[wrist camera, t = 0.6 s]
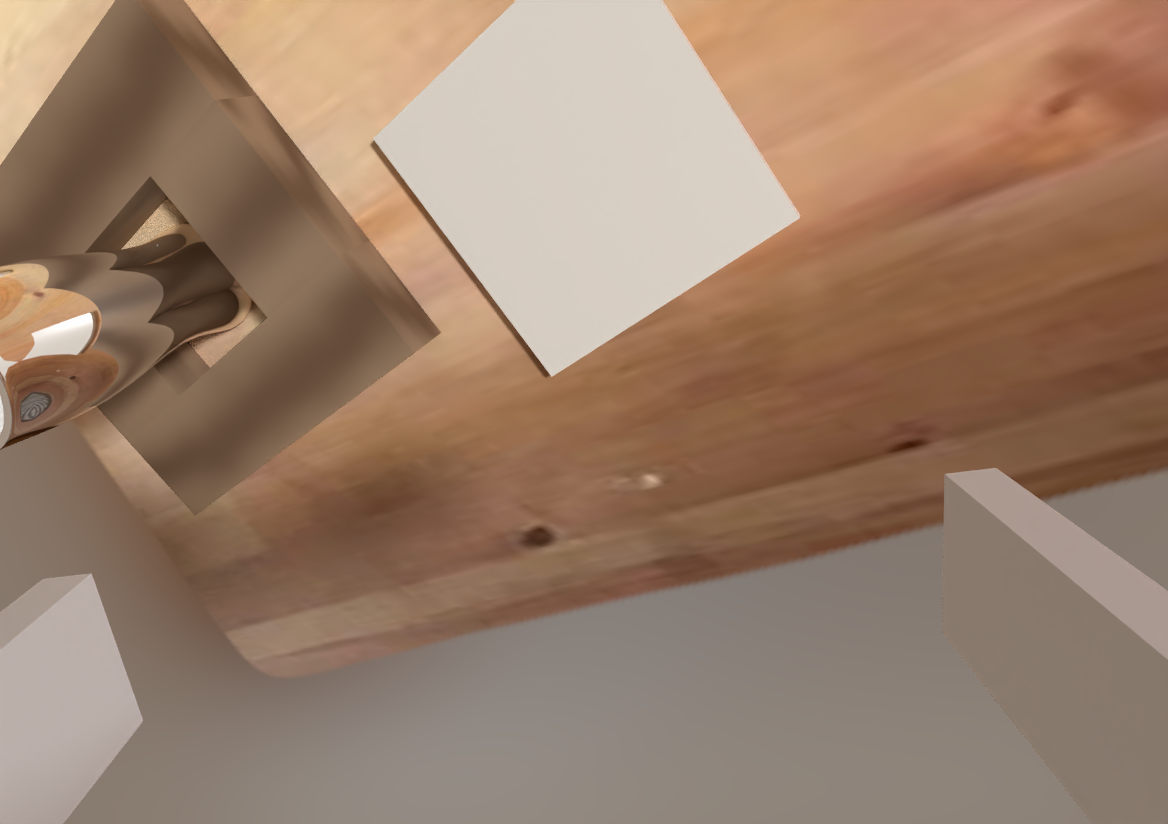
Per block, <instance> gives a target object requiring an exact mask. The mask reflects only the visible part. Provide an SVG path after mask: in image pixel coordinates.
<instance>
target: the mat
mask: <svg viewBox="0 0 1168 824" xmlns="http://www.w3.org/2000/svg"><path fill="white" fill-rule="evenodd" d="M373 139H374V141H375V142H376V143H377V145H378V146H379V147H380V149H381V150H382V151H383V153H384V154H385V155H386V157H387V158H388V159H389V161H390V162H391V163H392V165H393V166H394V167H395V169H396V170H397V171H398V173H399V174H400V175H401V177H402V178H403V179H404V181H405V182H406V183H407V185H408V186H409V187H410V189H411V190H412V191H413V193H414V194H415V195H416V197H417V198H418V199H419V201H420V202H421V203H422V205H423V206H424V207H425V209H426V210H427V211H428V213H429V214H430V215H431V217H432V218H433V219H434V221H435V222H436V223H437V225H438V226H439V227H440V229H441V230H442V231H443V233H444V234H445V235H446V237H447V238H448V239H449V241H450V242H451V243H452V245H453V246H454V247H455V249H456V250H457V251H458V253H459V254H460V255H461V257H462V258H463V259H464V261H465V262H466V263H467V265H468V266H469V267H470V269H471V270H472V271H473V273H474V274H475V275H476V277H477V278H478V279H479V281H480V282H481V283H482V285H483V286H484V287H485V289H486V290H487V291H488V293H489V294H490V295H491V297H492V298H493V299H494V301H495V302H496V303H497V305H498V306H499V307H500V309H501V310H502V311H503V313H504V314H505V315H506V317H507V318H508V319H509V321H510V322H511V323H512V325H513V326H514V327H515V329H516V330H517V331H518V333H519V334H520V335H521V337H522V338H523V339H524V341H525V342H526V343H527V345H528V346H529V347H530V349H531V350H532V351H533V353H534V354H535V355H536V357H537V358H538V359H539V361H540V362H541V363H542V365H543V366H544V367H545V369H546V370H547V371H548V373H549V374H550V375H551V377H552V376H554V375H555V374H557V373H558V372H560V371H562V370H563V369H565V368H566V367H568V366H569V365H571V364H573V363H574V362H576V361H577V360H579V359H580V358H582V357H583V356H585V355H587V354H588V353H590V352H591V351H593V350H594V349H596V348H598V347H599V346H601V345H602V344H604V343H605V342H607V341H608V340H610V339H612V338H613V337H615V336H616V335H618V334H619V333H621V332H623V331H624V330H626V329H627V328H629V327H630V326H632V325H633V324H635V323H637V322H638V321H640V320H641V319H643V318H644V317H646V316H648V315H649V314H651V313H652V312H654V311H655V310H657V309H658V308H660V307H662V306H663V305H665V304H666V303H668V302H669V301H671V300H673V299H674V298H676V297H677V296H679V295H680V294H682V293H683V292H685V291H687V290H688V289H690V288H691V287H693V286H694V285H696V284H698V283H699V282H701V281H702V280H704V279H705V278H707V277H708V276H710V275H712V274H713V273H715V272H716V271H718V270H719V269H721V268H722V267H724V266H726V265H727V264H729V263H730V262H732V261H733V260H735V259H737V258H738V257H740V256H741V255H743V254H744V253H746V252H747V251H749V250H751V249H752V248H754V247H755V246H757V245H758V244H760V243H762V242H763V241H765V240H766V239H768V238H769V237H771V236H772V235H774V234H776V233H777V232H779V231H780V230H782V229H783V228H785V227H787V226H788V225H790V224H791V223H793V222H794V221H796V220H797V219H799V218H800V214H799V212H798V211H797V209H796V208H795V206H794V205H793V203H792V201H791V200H790V198H789V197H788V195H787V194H786V192H785V191H784V189H783V187H782V186H781V184H780V183H779V181H778V180H777V178H776V176H775V175H774V173H773V172H772V170H771V169H770V167H769V165H768V164H767V162H766V161H765V159H764V158H763V156H762V155H761V153H760V151H759V150H758V148H757V147H756V145H755V144H754V142H753V140H752V139H751V137H750V136H749V134H748V133H747V131H746V130H745V128H744V126H743V125H742V123H741V122H740V120H739V119H738V117H737V115H736V114H735V112H734V111H733V109H732V108H731V106H730V104H729V103H728V101H727V100H726V98H725V97H724V95H723V94H722V92H721V90H720V89H719V87H718V86H717V84H716V83H715V81H714V79H713V78H712V76H711V75H710V73H709V72H708V70H707V68H706V67H705V65H704V64H703V62H702V61H701V59H700V58H699V56H698V54H697V53H696V51H695V50H694V48H693V47H692V45H691V43H690V42H689V40H688V39H687V37H686V36H685V34H684V32H683V31H682V29H681V28H680V26H679V25H678V23H677V22H676V20H675V18H674V17H673V15H672V14H671V12H670V11H669V9H668V7H667V6H666V4H665V3H664V1H663V0H516V1H515V2H514V3H513V4H512V5H511V6H510V7H509V8H508V9H507V10H506V11H505V12H504V13H503V14H502V15H501V16H500V17H498V18H497V19H496V20H495V21H494V22H493V23H492V24H491V25H490V26H489V27H488V28H487V29H486V30H485V31H484V32H483V33H482V34H481V35H480V36H479V37H478V38H477V39H476V40H475V41H474V42H473V43H472V44H471V45H470V46H468V47H467V48H466V49H465V50H464V51H463V52H462V53H461V54H460V55H459V56H458V57H457V58H456V59H455V60H454V61H453V62H452V63H451V64H450V65H449V66H448V67H447V68H446V69H445V70H444V71H443V72H442V73H441V74H439V75H438V76H437V77H436V78H435V79H434V80H433V81H432V82H431V83H430V84H429V85H428V86H427V87H426V88H425V89H424V90H423V91H422V92H421V93H420V94H419V95H418V96H417V97H416V98H415V99H414V100H413V101H412V102H410V103H409V104H408V105H407V106H406V107H405V108H404V109H403V110H402V111H401V112H400V113H399V114H398V115H397V116H396V117H395V118H394V119H393V120H392V121H391V122H390V123H389V124H388V125H387V126H386V127H385V128H384V129H383V130H381V131H380V132H379V133H378V134H377V135H376V136H375V137H374V138H373Z"/></svg>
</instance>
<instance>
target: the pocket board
mask: <svg viewBox="0 0 1168 824" xmlns="http://www.w3.org/2000/svg"><path fill="white" fill-rule="evenodd" d="M167 197H168V198H169V199H170V200H171V202H172V203H173V204H174V205H175V207H176V208H177V209H178V210H179V211H180V213H181V214H182V215H183V216H184V217H185V219H186V220H187V221H188V222H189V224H190V225H191V226H192V227H193V228H194V230H195V231H196V232H197V233H198V234H199V236H200V237H201V238H202V239H203V241H204V242H205V243H206V244H207V245H208V247H209V248H210V249H211V250H212V251H213V253H214V254H215V255H216V256H217V257H218V259H219V260H220V261H221V262H222V264H223V265H224V266H225V267H226V268H227V270H228V271H229V272H230V273H231V274H232V276H233V277H234V278H235V279H236V281H237V282H238V283H239V284H240V285H241V287H242V288H243V289H244V290H245V291H246V293H247V294H248V295H249V296H250V298H251V299H252V300H253V301H254V302H255V304H256V305H257V306H258V307H259V308H260V310H261V311H262V312H263V313H264V315H265V316H266V317H267V318H266V319H265V320H264V321H263V322H262V323H261V324H260V325H259V326H257V327H256V328H255V329H254V330H253V331H252V332H251V333H250V334H248V335H247V336H246V337H245V338H244V339H243V340H242V341H241V342H239V343H238V344H237V345H236V346H235V347H234V348H233V349H232V350H230V351H229V352H228V353H227V354H226V355H225V356H224V357H223V358H221V359H220V360H219V361H218V362H217V363H216V364H215V365H213V366H212V367H211V368H209V367H208V366H207V364H206V363H205V362H204V361H203V360H202V358H201V357H200V356H199V355H198V354H197V353H196V351H195V350H194V349H193V348H192V347H191V346H190V344H189V343H188V342H186V343H184V344H182V345H180V346H179V347H177V348H176V349H174V350H173V351H172V352H170V353H169V354H168V355H167V356H165V357H164V358H163V359H161V360H160V361H159V362H158V363H157V364H155V365H154V366H153V367H152V368H150V369H149V370H148V371H147V372H145V373H144V374H143V375H142V376H140V377H139V378H138V379H137V380H135V381H134V382H133V383H131V384H130V385H129V386H127V387H126V388H124V389H123V390H122V391H120V392H119V393H117V394H116V395H114V396H113V397H112V398H110V399H109V400H107V401H105V402H104V403H102V404H100V405H98V406H97V407H98V408H99V409H100V410H101V412H102V413H103V414H104V415H105V416H106V417H107V418H108V419H109V420H110V422H111V423H112V424H113V425H114V426H115V427H116V428H117V429H118V430H119V432H120V433H121V434H122V435H123V436H124V437H125V438H126V439H127V440H128V441H129V443H130V444H131V445H132V446H133V447H134V448H135V449H136V450H137V451H138V453H139V454H140V455H141V456H142V457H143V458H144V459H145V460H146V461H147V463H148V464H149V465H150V466H151V467H152V468H153V469H154V470H155V471H156V473H157V474H158V475H159V476H160V477H161V478H162V479H163V480H164V481H165V483H166V484H167V485H168V486H169V487H170V488H171V489H172V490H173V491H174V493H175V494H176V495H177V496H178V497H179V498H180V499H181V500H182V501H183V502H184V504H185V505H186V506H187V507H188V508H189V509H190V510H191V511H192V512H193V514H194V515H196V514H197V513H199V512H200V511H201V510H203V509H204V508H205V507H207V506H208V505H209V504H211V503H212V502H214V501H215V500H216V499H218V498H219V497H220V496H222V495H223V494H224V493H226V492H227V491H228V490H230V489H231V488H232V487H234V486H235V485H236V484H238V483H239V482H241V481H242V480H243V479H245V478H246V477H247V476H249V475H250V474H251V473H253V472H254V471H255V470H257V469H258V468H259V467H261V466H262V465H264V464H265V463H266V462H268V461H269V460H270V459H272V458H273V457H274V456H276V455H277V454H278V453H280V452H281V451H282V450H284V449H285V448H287V447H288V446H289V445H291V444H292V443H293V442H295V441H296V440H297V439H299V438H300V437H301V436H303V435H304V434H305V433H307V432H308V431H310V430H311V429H312V428H314V427H315V426H316V425H318V424H319V423H320V422H322V421H323V420H324V419H326V418H327V417H328V416H330V415H331V414H332V413H334V412H335V411H337V410H338V409H339V408H341V407H342V406H343V405H345V404H346V403H347V402H349V401H350V400H351V399H353V398H354V397H355V396H357V395H358V394H360V393H361V392H362V391H364V390H365V389H366V388H368V387H369V386H370V385H372V384H373V383H374V382H376V381H377V380H378V379H380V378H381V377H383V376H384V375H385V374H387V373H388V372H389V371H391V370H392V369H393V368H395V367H396V366H397V365H399V364H400V363H401V362H403V361H404V360H406V359H407V358H408V357H410V356H411V355H412V354H414V353H415V352H416V351H418V350H419V349H420V348H421V347H423V346H424V345H425V344H427V343H428V342H429V341H431V340H432V339H433V338H434V337H436V336H437V335H438V334H440V333H441V332H440V331H439V330H438V328H437V327H436V326H435V325H434V323H433V322H432V321H431V319H430V318H429V317H428V316H427V314H426V313H425V312H424V310H423V309H422V308H421V306H420V305H419V304H418V303H417V301H416V300H415V299H414V297H413V296H412V295H411V294H410V292H409V291H408V290H407V288H406V287H405V286H404V285H403V283H402V282H401V281H400V279H399V278H398V277H397V275H396V274H395V273H394V272H393V270H392V269H391V268H390V266H389V265H388V264H387V263H386V261H385V260H384V259H383V257H382V256H381V255H380V254H379V252H378V251H377V250H376V248H375V247H374V246H373V244H372V243H371V242H370V241H369V239H368V238H367V237H366V235H365V234H364V233H363V232H362V230H361V229H360V228H359V226H358V225H357V224H356V223H355V221H354V220H353V219H352V217H351V216H350V215H349V213H348V212H347V211H346V210H345V208H344V207H343V206H342V204H341V203H340V202H339V201H338V199H337V198H336V197H335V195H334V194H333V193H332V192H331V190H330V189H329V188H328V186H327V185H326V184H325V182H324V181H323V180H322V179H321V177H320V176H319V175H318V173H317V172H316V171H315V170H314V168H313V167H312V166H311V164H310V163H309V162H308V161H307V159H306V158H305V157H304V155H303V154H302V153H301V151H300V150H299V149H298V148H297V146H296V145H295V144H294V142H293V141H292V140H291V139H290V137H289V136H288V135H287V133H286V132H285V131H284V130H283V128H282V127H281V126H280V124H279V123H278V122H277V120H276V119H275V118H274V117H273V115H272V114H271V113H270V111H269V110H268V109H267V108H266V106H265V105H264V104H263V102H262V101H261V100H260V99H259V97H258V96H257V95H256V93H255V92H254V91H253V89H252V88H251V87H250V86H249V84H248V83H247V82H246V80H245V79H244V78H243V77H242V75H241V74H240V73H239V71H238V70H237V69H236V68H235V66H234V65H233V64H232V62H231V61H230V60H229V58H228V57H227V56H226V55H225V53H224V52H223V51H222V49H221V48H220V47H219V46H218V44H217V43H216V42H215V40H214V39H213V38H212V37H211V35H210V34H209V33H208V31H207V30H206V29H205V27H204V26H203V25H202V24H201V22H200V21H199V20H198V18H197V17H196V16H195V15H194V13H193V12H192V11H191V9H190V8H189V7H188V6H187V4H186V3H185V2H184V0H115V2H114V3H113V5H112V6H111V8H110V9H109V10H108V12H107V13H106V15H105V16H104V18H103V19H102V20H101V22H100V23H99V25H98V26H97V28H96V29H95V30H94V32H93V33H92V35H91V36H90V38H89V39H88V41H87V42H86V43H85V45H84V46H83V48H82V49H81V51H80V52H79V53H78V55H77V56H76V58H75V59H74V61H73V62H72V63H71V65H70V66H69V68H68V69H67V71H66V72H65V74H64V75H63V76H62V78H61V79H60V81H59V82H58V84H57V85H56V86H55V88H54V89H53V91H52V92H51V94H50V95H49V96H48V98H47V99H46V101H45V102H44V104H43V105H42V107H41V108H40V109H39V111H38V112H37V114H36V115H35V117H34V118H33V119H32V121H31V122H30V124H29V125H28V127H27V128H26V129H25V131H24V132H23V134H22V135H21V137H20V138H19V140H18V141H17V142H16V144H15V145H14V147H13V148H12V150H11V151H10V152H9V154H8V155H7V157H6V158H5V160H4V161H3V162H2V164H1V165H0V266H2V265H7V264H11V263H15V262H19V261H23V260H30V259H37V258H44V257H50V256H59V255H70V254H81V253H94V252H106V251H115V250H120V249H121V248H122V247H123V246H124V245H125V244H126V243H127V241H128V240H129V239H130V238H131V237H132V236H133V235H134V234H135V232H136V231H137V230H138V229H139V228H140V227H141V226H142V225H143V223H144V222H145V221H146V220H147V219H148V218H149V217H150V216H151V214H152V213H153V212H154V211H155V210H156V209H157V208H158V207H159V205H160V204H161V203H162V202H163V201H164V200H165V199H166V198H167Z"/></svg>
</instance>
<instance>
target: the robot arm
mask: <svg viewBox="0 0 1168 824" xmlns="http://www.w3.org/2000/svg"><path fill="white" fill-rule="evenodd" d="M943 544H944V545H943V546H944V547H943V597H942V633H943V634H944V636H945V637H946V638H947V640H948V641H949V642H950V643H951V645H952V646H953V647H954V648H955V650H956V651H957V652H958V653H959V655H960V656H961V657H962V659H963V660H964V661H965V662H966V664H967V665H968V666H969V667H970V669H971V670H972V671H973V673H974V674H975V675H976V676H977V677H978V679H979V680H980V681H981V683H982V684H983V685H984V687H985V688H986V689H987V690H988V692H989V693H990V694H991V695H992V697H993V698H994V699H995V701H996V702H997V703H998V704H999V705H1000V707H1001V708H1002V709H1003V711H1004V712H1005V713H1006V714H1007V716H1008V717H1009V718H1010V719H1011V721H1012V722H1013V723H1014V725H1015V726H1016V727H1017V728H1018V730H1019V731H1020V732H1021V734H1022V735H1023V736H1024V737H1025V739H1026V740H1027V741H1028V742H1029V744H1030V745H1031V746H1032V747H1033V749H1034V750H1035V751H1036V753H1037V754H1038V755H1039V756H1040V758H1041V759H1042V760H1043V761H1044V763H1045V764H1046V765H1047V767H1048V768H1049V769H1050V770H1051V772H1052V773H1053V774H1054V775H1055V777H1056V778H1057V779H1058V781H1059V782H1060V783H1061V784H1062V786H1063V787H1064V788H1065V789H1066V791H1067V792H1068V793H1069V795H1070V796H1071V797H1072V798H1073V800H1074V801H1075V802H1076V803H1077V805H1078V806H1079V807H1080V808H1081V810H1082V811H1083V812H1084V814H1085V815H1086V816H1087V817H1088V819H1089V820H1090V821H1091V822H1092V824H1168V591H1167V590H1165V589H1164V588H1163V587H1161V586H1160V585H1158V584H1157V583H1156V582H1154V581H1153V580H1152V579H1150V578H1149V577H1147V576H1146V575H1144V574H1143V573H1142V572H1140V571H1139V570H1137V569H1136V568H1135V567H1133V566H1132V565H1130V564H1129V563H1128V562H1126V561H1125V560H1124V559H1122V558H1121V557H1119V556H1118V555H1117V554H1115V553H1114V552H1112V551H1111V550H1110V549H1108V548H1107V547H1105V546H1104V545H1103V544H1101V543H1100V542H1099V541H1097V540H1096V539H1094V538H1093V537H1092V536H1090V535H1089V534H1087V533H1086V532H1085V531H1083V530H1082V529H1080V528H1079V527H1078V526H1076V525H1075V524H1073V523H1072V522H1071V521H1069V520H1068V519H1066V518H1065V517H1063V516H1062V515H1061V514H1059V513H1058V512H1057V511H1055V510H1054V509H1052V508H1051V507H1050V506H1048V505H1047V504H1046V503H1044V502H1043V501H1041V500H1040V499H1039V498H1037V497H1036V496H1034V495H1033V494H1032V493H1030V492H1029V491H1027V490H1026V489H1025V488H1023V487H1022V486H1020V485H1019V484H1018V483H1016V482H1015V481H1013V480H1012V479H1011V478H1009V477H1008V476H1006V475H1005V474H1004V473H1002V472H1001V471H999V470H998V469H997V468H992V469H983V470H975V471H966V472H957V473H949V474H945V484H944V541H943ZM142 722H143V719H142V716H141V713H140V711H139V708H138V705H137V702H136V699H135V696H134V693H133V691H132V688H131V685H130V682H129V679H128V676H127V674H126V671H125V668H124V665H123V662H122V659H121V656H120V653H119V650H118V648H117V645H116V642H115V639H114V636H113V633H112V630H111V627H110V625H109V622H108V619H107V616H106V613H105V610H104V608H103V604H102V602H101V599H100V596H99V593H98V591H97V587H96V585H95V582H94V579H93V576H92V574H91V573H89V574H79V575H71V576H62V577H54V578H45V579H42V580H41V581H40V582H38V583H37V584H36V585H35V586H33V587H32V588H31V589H29V590H28V591H27V592H25V593H24V594H23V595H22V596H20V597H19V598H18V599H16V600H15V601H14V602H13V603H11V604H10V605H9V606H7V607H6V608H5V609H4V610H2V611H1V612H0V824H63V823H64V822H65V821H66V819H67V818H68V817H69V815H70V814H71V813H72V812H73V810H74V809H75V808H76V806H77V805H78V804H79V803H80V801H81V800H82V799H83V797H84V796H85V795H86V794H87V792H88V791H89V790H90V789H91V787H92V786H93V785H94V783H95V782H96V781H97V779H98V778H99V777H100V776H101V774H102V773H103V772H104V771H105V769H106V768H107V766H108V765H109V764H110V763H111V761H112V760H113V759H114V758H115V756H116V755H117V754H118V753H119V751H120V750H121V749H122V747H123V746H124V745H125V744H126V742H127V741H128V740H129V738H130V737H131V736H132V735H133V733H134V732H135V731H136V729H137V728H138V727H139V726H140V724H141V723H142Z"/></svg>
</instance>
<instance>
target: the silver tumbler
mask: <svg viewBox="0 0 1168 824" xmlns="http://www.w3.org/2000/svg"><path fill="white" fill-rule="evenodd" d="M251 304H252V299H251V298H250V296H249V295H248V294H247V293H246V291H245V290H244V289H243V288H242V287H241V285H240V284H239V283H238V282H237V281H236V279H235V278H234V277H233V276H232V274H231V273H230V272H229V271H228V270H227V268H226V267H225V266H224V265H223V264H222V262H221V261H220V260H219V259H218V257H217V256H216V255H215V254H214V253H213V251H212V250H211V249H210V248H209V247H208V245H207V244H206V243H205V242H204V241H203V239H202V238H201V237H200V236H199V234H198V233H197V232H196V231H195V230H194V228H193V227H192V226H191V225H190V224H189V223H185V224H179V225H176V226H174V227H171V228H169V229H168V230H166V231H164V232H162V233H161V234H159V235H157V236H156V237H154V238H153V239H151V240H149V241H148V242H146V243H144V244H141V245H139V246H136V247H132V248H128V249H123V250H115V251H106V252H94V253H81V254H70V255H59V256H50V257H44V258H37V259H30V260H23V261H19V262H15V263H11V264H7V265H2V266H0V450H1V449H3V448H5V447H7V446H10V445H12V444H15V443H17V442H20V441H22V440H25V439H28V438H30V437H32V436H35V435H38V434H40V433H42V432H45V431H47V430H49V429H52V428H54V427H56V426H59V425H61V424H63V423H65V422H67V421H69V420H71V419H74V418H76V417H78V416H80V415H82V414H84V413H86V412H88V411H89V410H91V409H93V408H95V407H96V406H98V405H100V404H102V403H104V402H105V401H107V400H109V399H110V398H112V397H113V396H114V395H116V394H117V393H119V392H120V391H122V390H123V389H124V388H126V387H127V386H129V385H130V384H131V383H133V382H134V381H135V380H137V379H138V378H139V377H140V376H142V375H143V374H144V373H145V372H147V371H148V370H149V369H150V368H152V367H153V366H154V365H155V364H157V363H158V362H159V361H160V360H161V359H163V358H164V357H165V356H167V355H168V354H169V353H170V352H172V351H173V350H174V349H176V348H177V347H179V346H180V345H182V344H184V343H186V342H187V341H189V340H192V339H194V338H196V337H199V336H203V335H207V334H212V333H217V332H222V331H226V330H229V329H232V328H234V327H236V326H237V325H239V324H240V323H241V322H242V321H243V320H244V319H245V318H246V316H247V314H248V313H249V310H250V308H251Z"/></svg>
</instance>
